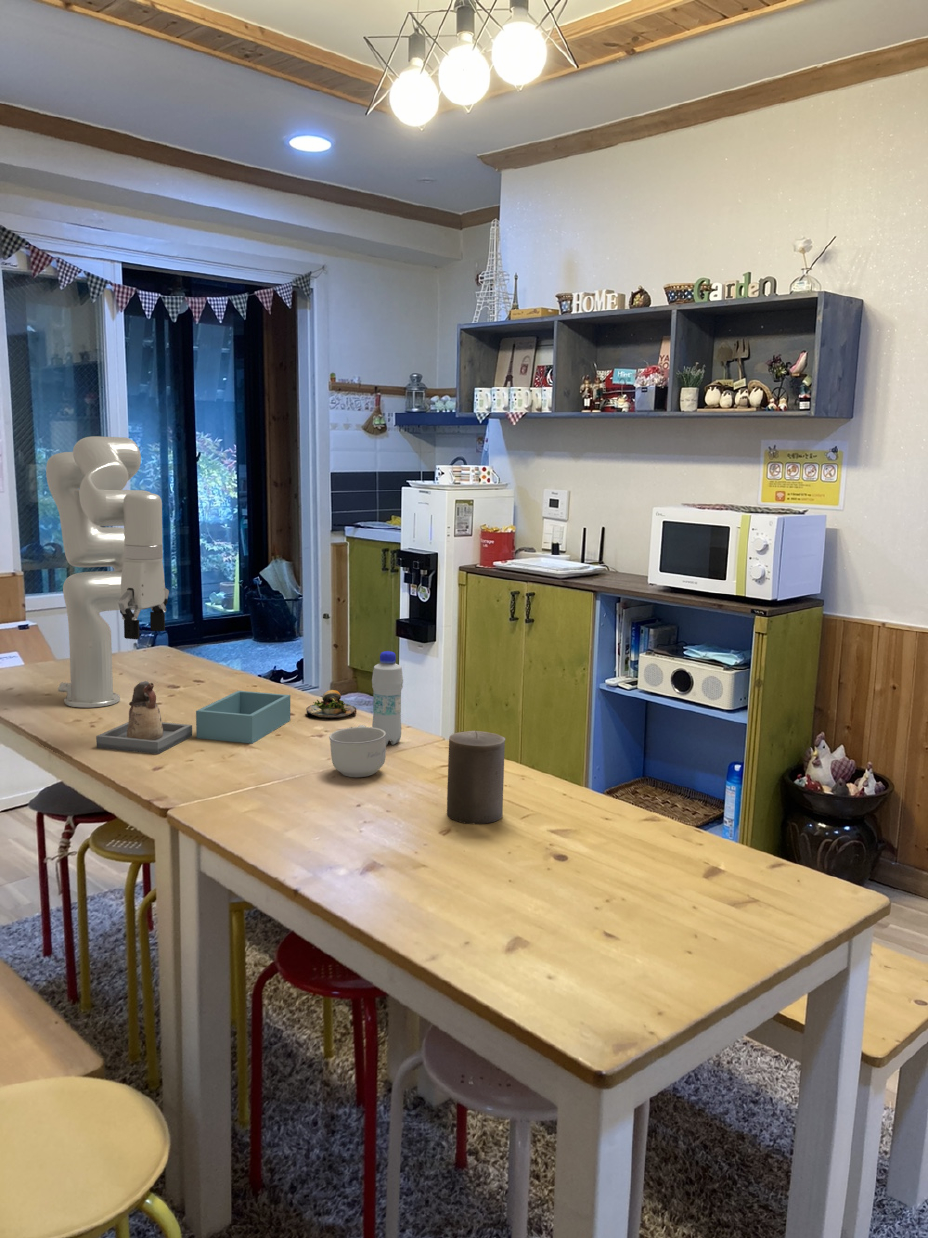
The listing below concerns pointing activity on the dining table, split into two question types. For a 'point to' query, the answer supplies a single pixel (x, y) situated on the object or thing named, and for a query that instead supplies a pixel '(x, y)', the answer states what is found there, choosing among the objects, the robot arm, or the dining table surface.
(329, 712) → the burger
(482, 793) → the pillar candle
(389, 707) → the bottle
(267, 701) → the tub
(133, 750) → the tray
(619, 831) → the dining table surface
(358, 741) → the teacup
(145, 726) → the figurine
